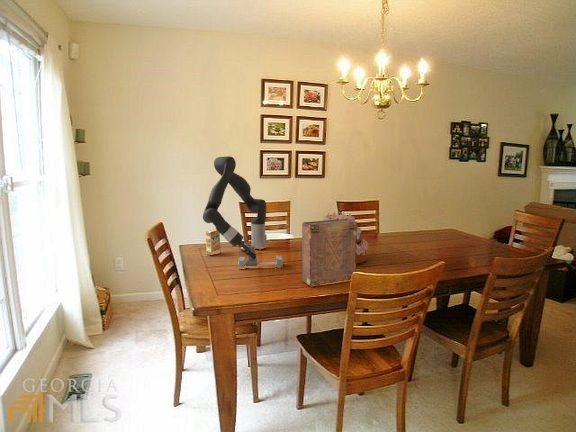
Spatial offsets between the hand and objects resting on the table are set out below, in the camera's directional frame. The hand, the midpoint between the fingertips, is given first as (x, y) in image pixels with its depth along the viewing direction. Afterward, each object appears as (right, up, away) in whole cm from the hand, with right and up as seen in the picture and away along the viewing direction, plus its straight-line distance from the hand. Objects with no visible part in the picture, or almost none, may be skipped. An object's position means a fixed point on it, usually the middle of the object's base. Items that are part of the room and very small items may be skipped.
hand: (255, 257), depth 205 cm
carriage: (-2, -4, +1) cm, 5 cm away
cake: (+49, -3, +18) cm, 52 cm away
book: (+38, -10, -22) cm, 45 cm away
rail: (+3, -6, +1) cm, 6 cm away
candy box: (-29, -1, +27) cm, 40 cm away
